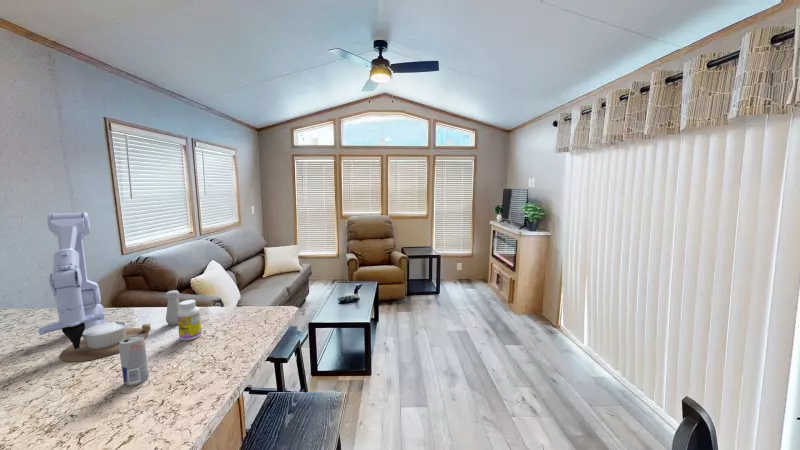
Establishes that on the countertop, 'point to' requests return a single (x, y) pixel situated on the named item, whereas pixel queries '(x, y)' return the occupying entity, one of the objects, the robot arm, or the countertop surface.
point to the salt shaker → (172, 307)
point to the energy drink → (133, 360)
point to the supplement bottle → (189, 320)
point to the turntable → (91, 354)
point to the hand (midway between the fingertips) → (76, 347)
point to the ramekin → (105, 334)
